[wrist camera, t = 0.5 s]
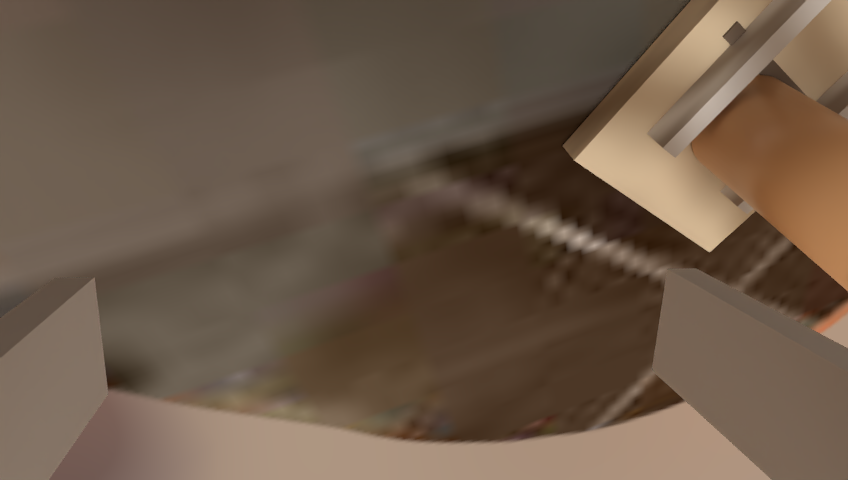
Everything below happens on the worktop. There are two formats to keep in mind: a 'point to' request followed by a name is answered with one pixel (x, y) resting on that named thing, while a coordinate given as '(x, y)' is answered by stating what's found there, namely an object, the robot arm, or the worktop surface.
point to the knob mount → (707, 102)
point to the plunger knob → (786, 166)
